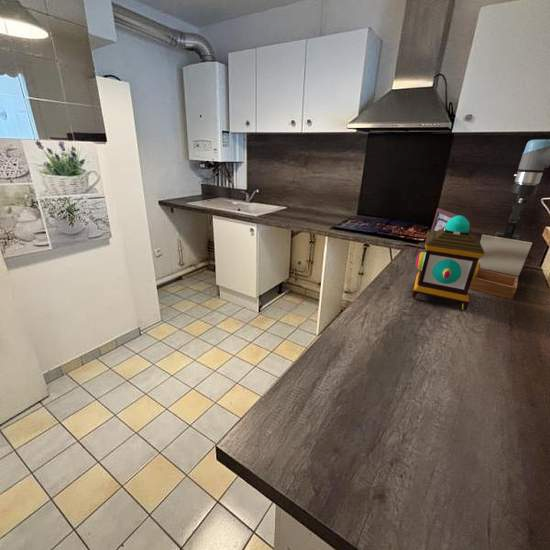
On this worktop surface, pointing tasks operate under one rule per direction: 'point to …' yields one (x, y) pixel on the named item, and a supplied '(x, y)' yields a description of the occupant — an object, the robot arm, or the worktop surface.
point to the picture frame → (441, 219)
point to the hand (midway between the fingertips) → (507, 237)
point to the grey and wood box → (503, 253)
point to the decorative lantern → (449, 262)
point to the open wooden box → (495, 284)
